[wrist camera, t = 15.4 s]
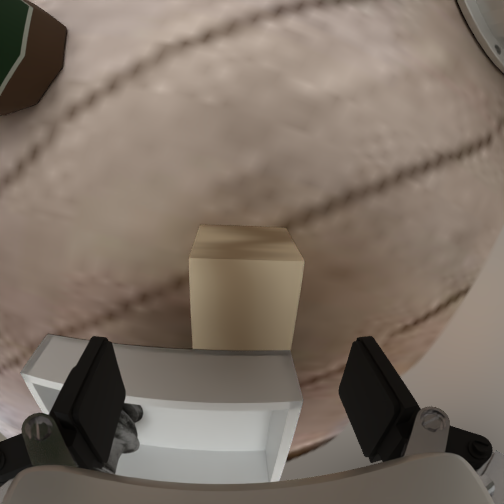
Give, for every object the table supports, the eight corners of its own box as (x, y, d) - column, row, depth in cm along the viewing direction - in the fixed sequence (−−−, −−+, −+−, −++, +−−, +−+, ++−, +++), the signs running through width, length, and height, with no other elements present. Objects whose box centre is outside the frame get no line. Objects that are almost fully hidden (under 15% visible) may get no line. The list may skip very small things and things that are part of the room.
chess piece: (89, 373, 20) (41, 493, 9) (153, 401, 22) (130, 529, 11) (83, 407, 22) (47, 509, 11) (138, 431, 23) (118, 536, 12)
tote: (290, 350, 21) (303, 400, 16) (271, 448, 26) (276, 487, 22) (47, 333, 19) (20, 372, 15) (94, 434, 25) (83, 469, 20)
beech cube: (285, 227, 18) (304, 261, 13) (277, 300, 19) (290, 349, 15) (199, 224, 17) (188, 257, 13) (200, 299, 19) (192, 348, 14)
